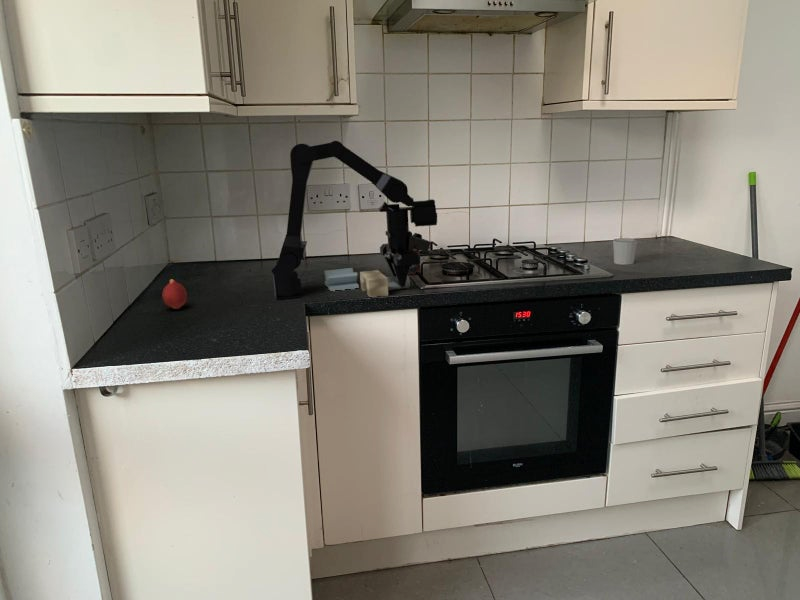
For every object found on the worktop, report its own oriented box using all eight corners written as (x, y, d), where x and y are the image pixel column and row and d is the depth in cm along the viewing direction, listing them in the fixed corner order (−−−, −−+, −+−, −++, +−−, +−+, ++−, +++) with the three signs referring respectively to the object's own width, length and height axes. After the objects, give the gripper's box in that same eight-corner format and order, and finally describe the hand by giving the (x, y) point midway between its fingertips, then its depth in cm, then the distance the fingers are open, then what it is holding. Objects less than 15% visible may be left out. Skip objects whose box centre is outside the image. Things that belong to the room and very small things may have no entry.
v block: (330, 291, 160) (329, 276, 159) (324, 284, 169) (323, 269, 168) (358, 288, 162) (357, 273, 161) (352, 281, 171) (351, 266, 170)
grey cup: (613, 265, 176) (615, 241, 175) (610, 260, 183) (611, 237, 181) (638, 264, 175) (639, 241, 173) (633, 260, 182) (634, 237, 180)
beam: (369, 297, 153) (368, 280, 151) (360, 288, 162) (359, 271, 161) (388, 295, 154) (387, 278, 153) (378, 286, 164) (377, 270, 162)
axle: (370, 294, 156) (369, 281, 155) (367, 291, 159) (366, 278, 158) (410, 289, 159) (409, 276, 158) (406, 286, 162) (405, 273, 161)
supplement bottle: (416, 270, 182) (414, 233, 178) (423, 273, 176) (422, 236, 173) (397, 272, 180) (396, 235, 176) (405, 276, 174) (403, 238, 171)
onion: (175, 305, 153) (171, 275, 151) (193, 307, 151) (189, 276, 149) (159, 312, 148) (154, 281, 146) (177, 313, 146) (173, 282, 144)
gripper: (438, 229, 149) (440, 289, 153) (416, 220, 166) (418, 274, 170) (396, 233, 146) (399, 294, 150) (378, 224, 163) (381, 278, 168)
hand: (400, 284), depth 160 cm, fingers closed on axle, 3 cm apart
